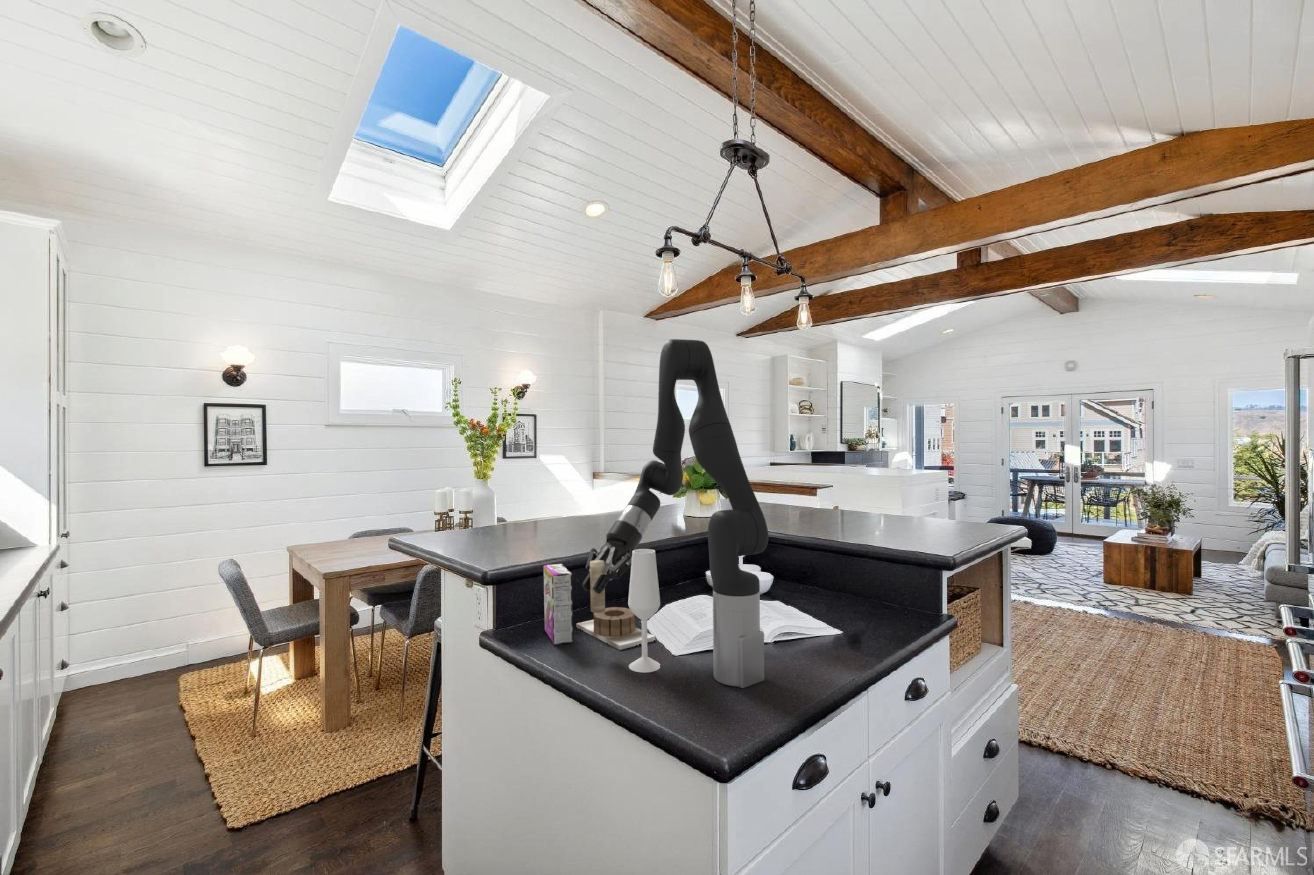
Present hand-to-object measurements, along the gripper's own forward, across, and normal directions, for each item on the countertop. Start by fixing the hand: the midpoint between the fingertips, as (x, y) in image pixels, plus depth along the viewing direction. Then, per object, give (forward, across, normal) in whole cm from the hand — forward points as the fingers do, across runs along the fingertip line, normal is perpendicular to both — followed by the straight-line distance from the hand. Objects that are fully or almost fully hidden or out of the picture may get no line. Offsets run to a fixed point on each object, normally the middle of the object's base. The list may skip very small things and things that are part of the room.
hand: (590, 589), depth 130 cm
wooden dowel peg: (+2, 0, +5) cm, 5 cm away
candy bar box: (+9, -14, +11) cm, 20 cm away
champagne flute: (+8, +14, +12) cm, 20 cm away
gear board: (+1, -6, +18) cm, 19 cm away
